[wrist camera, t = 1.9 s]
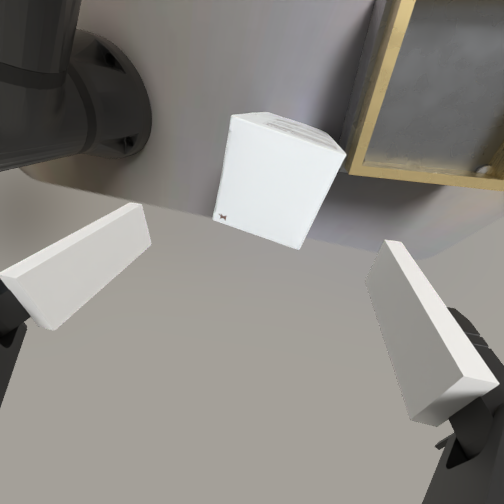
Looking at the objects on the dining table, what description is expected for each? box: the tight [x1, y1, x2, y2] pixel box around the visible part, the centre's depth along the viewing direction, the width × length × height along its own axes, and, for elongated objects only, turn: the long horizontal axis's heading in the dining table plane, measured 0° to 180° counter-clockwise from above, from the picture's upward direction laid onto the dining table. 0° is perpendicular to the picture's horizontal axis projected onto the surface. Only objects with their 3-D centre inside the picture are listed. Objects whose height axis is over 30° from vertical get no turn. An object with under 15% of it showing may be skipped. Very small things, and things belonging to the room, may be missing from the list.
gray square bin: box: [338, 0, 504, 191], centre depth 22 cm, size 16×16×9 cm
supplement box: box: [212, 112, 346, 250], centre depth 25 cm, size 10×9×17 cm
